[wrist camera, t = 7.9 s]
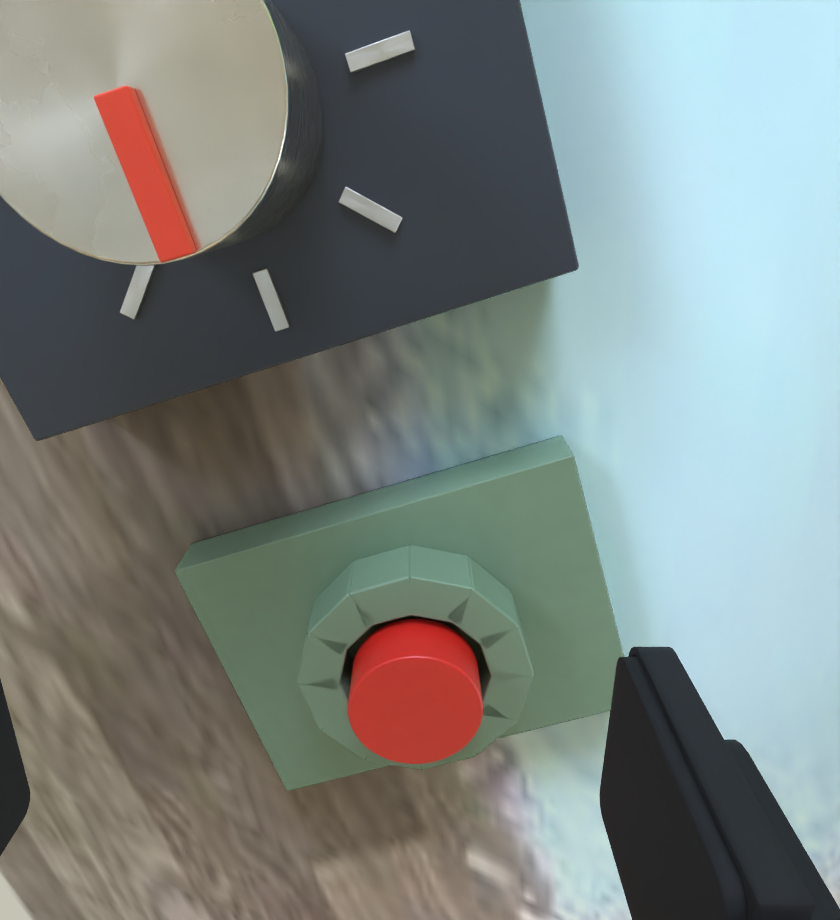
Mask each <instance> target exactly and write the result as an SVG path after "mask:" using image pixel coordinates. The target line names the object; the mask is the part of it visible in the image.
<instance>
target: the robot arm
mask: <svg viewBox="0 0 840 920" xmlns="http://www.w3.org/2000/svg"><path fill="white" fill-rule="evenodd" d="M29 802H30V789H29V785H28V781H27V777H26V774H25V770H24V766H23V762H22V759H21V755H20V751H19V747H18V743H17V740H16V736H15V732H14V728H13V725H12V721H11V717H10V713H9V710H8V706H7V702H6V698H5V695H4V691H3V687H2V683H1V680H0V856H1V854H2V852H3V851H4V849H5V848H6V846H7V844H8V843H9V841H10V840H11V838H12V836H13V835H14V833H15V832H16V830H17V828H18V827H19V825H20V824H21V822H22V820H23V819H24V817H25V815H26V813H27V810H28V807H29ZM600 807H601V814H602V818H603V822H604V825H605V828H606V832H607V835H608V839H609V842H610V845H611V849H612V852H613V856H614V859H615V862H616V866H617V869H618V873H619V876H620V879H621V883H622V886H623V890H624V893H625V896H626V900H627V903H628V907H629V910H630V913H631V917H632V920H840V909H839V907H838V905H837V904H836V902H835V900H834V898H833V897H832V895H831V893H830V892H829V890H828V888H827V886H826V885H825V883H824V881H823V880H822V878H821V876H820V875H819V873H818V871H817V869H816V868H815V866H814V864H813V863H812V861H811V859H810V857H809V856H808V854H807V852H806V851H805V849H804V847H803V846H802V844H801V842H800V840H799V839H798V837H797V835H796V834H795V832H794V830H793V828H792V827H791V825H790V823H789V822H788V820H787V818H786V817H785V815H784V813H783V811H782V810H781V808H780V806H779V805H778V803H777V801H776V799H775V798H774V796H773V794H772V793H771V791H770V789H769V788H768V786H767V784H766V782H765V781H764V779H763V777H762V776H761V774H760V772H759V770H758V769H757V767H756V765H755V764H754V762H753V760H752V758H751V757H750V755H749V753H748V752H747V751H746V749H745V748H744V747H743V745H742V744H741V743H739V742H738V741H736V740H724V739H723V737H722V735H721V733H720V732H719V730H718V728H717V726H716V724H715V723H714V721H713V719H712V717H711V715H710V714H709V712H708V710H707V708H706V706H705V705H704V703H703V701H702V699H701V698H700V696H699V694H698V692H697V690H696V689H695V687H694V685H693V683H692V681H691V680H690V678H689V676H688V674H687V672H686V671H685V669H684V667H683V665H682V663H681V662H680V660H679V658H678V656H677V654H676V653H675V651H674V650H673V649H672V648H670V647H633V648H631V650H630V652H629V656H628V657H619V658H618V660H617V665H616V672H615V680H614V687H613V695H612V702H611V710H610V718H609V725H608V733H607V740H606V748H605V756H604V763H603V771H602V779H601V786H600Z"/></svg>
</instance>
